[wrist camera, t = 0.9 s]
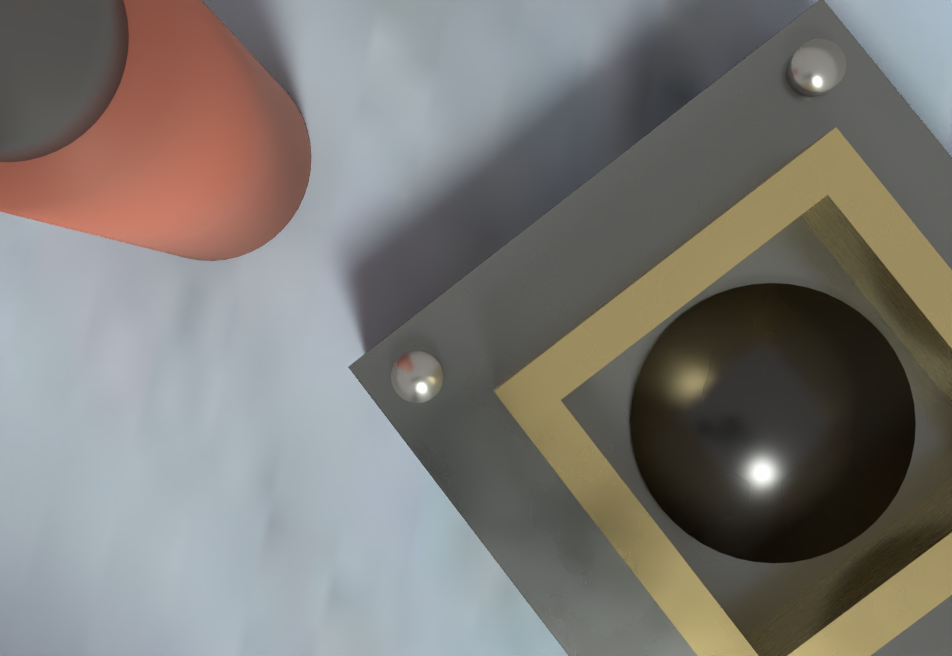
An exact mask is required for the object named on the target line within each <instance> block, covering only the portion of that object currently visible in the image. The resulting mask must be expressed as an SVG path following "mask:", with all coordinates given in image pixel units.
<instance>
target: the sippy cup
mask: <svg viewBox="0 0 952 656" xmlns="http://www.w3.org/2000/svg"><path fill="white" fill-rule="evenodd" d="M310 170H311V147H310V140H309V135H308V130H307V127H306V125H305V122H304V119H303V117H302V115H301V113H300V111H299V109H298V107H297V105H296V104H295V102H294V101H293V99H292V98H291V97H290V95H289V94H288V93H287V92H286V91H285V90H284V89H283V88H282V86H281V85H280V84H279V83H278V82H277V81H276V80H275V79H274V78H273V77H272V76H271V75H270V73H269V72H268V71H267V70H266V69H265V68H264V67H263V66H262V65H261V64H260V63H259V62H258V61H257V60H256V58H255V57H254V56H253V55H252V54H251V53H250V52H249V51H248V50H247V49H246V48H245V47H244V46H243V44H242V43H241V42H240V41H239V40H238V39H237V38H236V37H235V36H234V35H233V34H232V33H231V32H230V30H229V29H228V28H227V27H226V26H225V25H224V24H223V23H222V22H221V21H220V20H219V19H218V18H217V16H216V15H215V14H214V13H213V12H212V11H211V10H210V9H209V8H208V7H207V6H206V5H205V4H204V3H203V1H202V0H0V212H4V213H8V214H12V215H16V216H20V217H24V218H28V219H32V220H36V221H40V222H45V223H49V224H53V225H57V226H61V227H65V228H69V229H73V230H77V231H81V232H85V233H89V234H93V235H97V236H101V237H105V238H109V239H113V240H117V241H121V242H125V243H129V244H133V245H137V246H141V247H145V248H149V249H153V250H157V251H161V252H165V253H169V254H173V255H177V256H181V257H185V258H190V259H195V260H206V261H215V260H226V259H230V258H234V257H239V256H241V255H244V254H247V253H249V252H252V251H254V250H255V249H257V248H259V247H261V246H263V245H264V244H266V243H267V242H268V241H270V240H271V239H273V238H274V237H275V236H276V235H277V234H278V233H279V232H280V231H281V230H283V228H284V227H285V226H286V225H287V224H288V222H289V221H290V220H291V219H292V217H293V216H294V214H295V212H296V211H297V209H298V208H299V206H300V204H301V201H302V199H303V197H304V195H305V192H306V188H307V185H308V182H309V176H310Z"/></svg>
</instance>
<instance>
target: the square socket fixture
mask: <svg viewBox="0 0 952 656" xmlns="http://www.w3.org/2000/svg"><path fill="white" fill-rule="evenodd" d="M349 369H350V370H351V371H352V373H353V374H354V375H355V377H356V378H357V379H358V380H359V382H360V383H361V384H362V386H363V387H364V388H365V390H366V391H367V392H368V394H369V395H370V396H371V398H372V399H373V400H374V401H375V403H376V404H377V405H378V407H379V408H380V409H381V411H382V412H383V413H384V415H385V416H386V417H387V418H388V420H389V421H390V422H391V424H392V425H393V426H394V428H395V429H396V430H397V432H398V433H399V434H400V436H401V437H402V438H403V439H404V441H405V442H406V443H407V445H408V446H409V447H410V449H411V450H412V451H413V453H414V454H415V455H416V456H417V458H418V459H419V460H420V462H421V463H422V464H423V466H424V467H425V468H426V470H427V471H428V472H429V474H430V475H431V476H432V477H433V479H434V480H435V481H436V483H437V484H438V485H439V487H440V488H441V489H442V491H443V492H444V493H445V494H446V496H447V497H448V498H449V500H450V501H451V502H452V504H453V505H454V506H455V508H456V509H457V510H458V512H459V513H460V514H461V515H462V517H463V518H464V519H465V521H466V522H467V523H468V525H469V526H470V527H471V529H472V530H473V531H474V532H475V534H476V535H477V536H478V538H479V539H480V540H481V542H482V543H483V544H484V546H485V547H486V548H487V550H488V551H489V552H490V553H491V555H492V556H493V557H494V559H495V560H496V561H497V563H498V564H499V565H500V567H501V568H502V569H503V570H504V572H505V573H506V574H507V576H508V577H509V578H510V580H511V581H512V582H513V584H514V585H515V586H516V588H517V589H518V590H519V591H520V593H521V594H522V595H523V597H524V598H525V599H526V601H527V602H528V603H529V605H530V606H531V607H532V608H533V610H534V611H535V612H536V614H537V615H538V616H539V618H540V619H541V620H542V622H543V623H544V624H545V626H546V627H547V628H548V629H549V631H550V632H551V633H552V635H553V636H554V637H555V639H556V640H557V641H558V643H559V644H560V645H561V646H562V648H563V649H564V650H565V652H566V653H567V654H568V656H952V157H951V156H950V155H949V154H948V152H947V151H946V150H945V149H944V147H943V146H942V145H941V144H940V143H939V141H938V140H937V139H936V138H935V136H934V135H933V134H932V133H931V131H930V130H929V129H928V128H927V127H926V125H925V124H924V123H923V122H922V120H921V119H920V118H919V117H918V115H917V114H916V113H915V112H914V111H913V109H912V108H911V107H910V106H909V104H908V103H907V102H906V101H905V99H904V98H903V97H902V96H901V95H900V93H899V92H898V91H897V90H896V88H895V87H894V86H893V85H892V84H891V82H890V81H889V80H888V79H887V77H886V76H885V75H884V74H883V72H882V71H881V70H880V69H879V68H878V66H877V65H876V64H875V63H874V61H873V60H872V59H871V58H870V56H869V55H868V54H867V53H866V52H865V50H864V49H863V48H862V47H861V45H860V44H859V43H858V42H857V40H856V39H855V38H854V37H853V36H852V34H851V33H850V32H849V31H848V29H847V28H846V27H845V26H844V25H843V23H842V22H841V21H840V20H839V18H838V17H837V16H836V15H835V13H834V12H833V11H832V10H831V9H830V7H829V6H828V5H827V4H826V2H825V1H824V0H819V1H818V2H817V3H815V4H814V5H813V6H812V7H810V8H809V9H808V10H806V11H805V12H804V13H803V14H801V15H800V16H799V17H797V18H796V19H795V20H794V21H792V22H791V23H790V24H788V25H787V26H786V27H785V28H783V29H782V30H781V31H779V32H778V33H777V34H776V35H774V36H773V37H772V38H770V39H769V40H768V41H767V42H765V43H764V44H763V45H761V46H760V47H759V48H758V49H756V50H755V51H754V52H752V53H751V54H750V55H749V56H747V57H746V58H745V59H743V60H742V61H741V62H740V63H738V64H737V65H736V66H734V67H733V68H732V69H731V70H729V71H728V72H727V73H725V74H724V75H723V76H722V77H720V78H719V79H718V80H716V81H715V82H714V83H713V84H711V85H710V86H709V87H707V88H706V89H705V90H704V91H702V92H701V93H700V94H698V95H697V96H696V97H695V98H693V99H692V100H691V101H689V102H688V103H687V104H686V105H684V106H683V107H682V108H680V109H679V110H678V111H677V112H675V113H674V114H673V115H671V116H670V117H669V118H668V119H666V120H665V121H664V122H662V123H661V124H660V125H659V126H657V127H656V128H655V129H653V130H652V131H651V132H650V133H648V134H647V135H646V136H644V137H643V138H642V139H641V140H639V141H638V142H637V143H635V144H634V145H633V146H632V147H630V148H629V149H628V150H627V151H625V152H624V153H623V154H621V155H620V156H619V157H618V158H616V159H615V160H614V161H612V162H611V163H610V164H609V165H607V166H606V167H605V168H603V169H602V170H601V171H600V172H598V173H597V174H596V175H594V176H593V177H592V178H591V179H589V180H588V181H587V182H585V183H584V184H583V185H582V186H580V187H579V188H578V189H576V190H575V191H574V192H573V193H571V194H570V195H569V196H567V197H566V198H565V199H564V200H562V201H561V202H560V203H558V204H557V205H556V206H555V207H553V208H552V209H551V210H549V211H548V212H547V213H546V214H544V215H543V216H542V217H540V218H539V219H538V220H537V221H535V222H534V223H533V224H531V225H530V226H529V227H528V228H526V229H525V230H524V231H522V232H521V233H520V234H519V235H517V236H516V237H515V238H513V239H512V240H511V241H510V242H508V243H507V244H506V245H504V246H503V247H502V248H501V249H499V250H498V251H497V252H495V253H494V254H493V255H492V256H490V257H489V258H488V259H486V260H485V261H484V262H483V263H481V264H480V265H479V266H477V267H476V268H475V269H474V270H472V271H471V272H470V273H468V274H467V275H466V276H465V277H463V278H462V279H461V280H459V281H458V282H457V283H456V284H454V285H453V286H452V287H450V288H449V289H448V290H447V291H445V292H444V293H443V294H441V295H440V296H439V297H438V298H436V299H435V300H434V301H432V302H431V303H430V304H429V305H427V306H426V307H425V308H423V309H422V310H421V311H420V312H418V313H417V314H416V315H415V316H413V317H412V318H411V319H409V320H408V321H407V322H406V323H404V324H403V325H402V326H400V327H399V328H398V329H397V330H395V331H394V332H393V333H391V334H390V335H389V336H388V337H386V338H385V339H384V340H382V341H381V342H380V343H379V344H377V345H376V346H375V347H373V348H372V349H371V350H370V351H368V352H367V353H366V354H364V355H363V356H362V357H361V358H359V359H358V360H357V361H355V362H354V363H353V364H352V365H350V366H349Z"/></svg>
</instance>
